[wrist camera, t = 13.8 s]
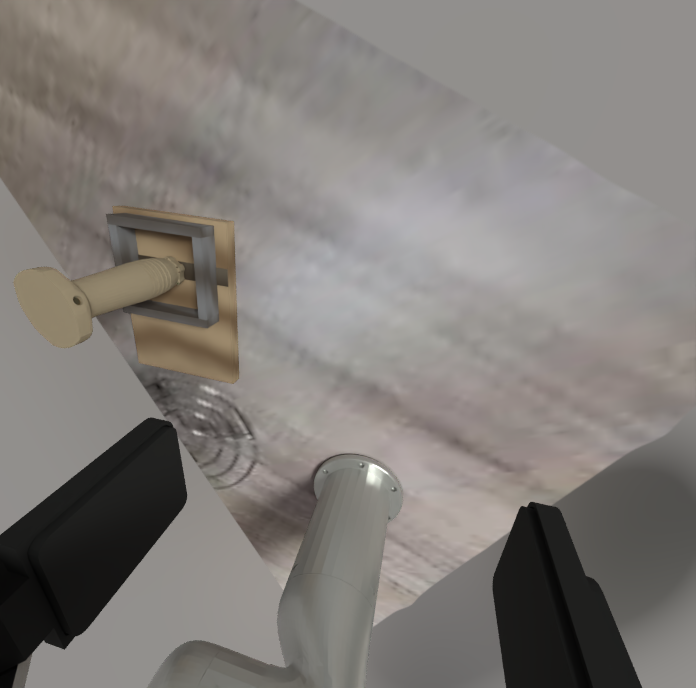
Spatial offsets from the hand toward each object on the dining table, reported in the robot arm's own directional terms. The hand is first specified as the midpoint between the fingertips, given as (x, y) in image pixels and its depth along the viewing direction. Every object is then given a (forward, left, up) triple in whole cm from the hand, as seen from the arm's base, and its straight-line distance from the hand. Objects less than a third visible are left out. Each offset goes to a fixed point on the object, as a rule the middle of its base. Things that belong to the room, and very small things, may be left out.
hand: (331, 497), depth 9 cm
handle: (-4, +26, -29) cm, 39 cm away
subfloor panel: (-8, +27, -30) cm, 41 cm away
